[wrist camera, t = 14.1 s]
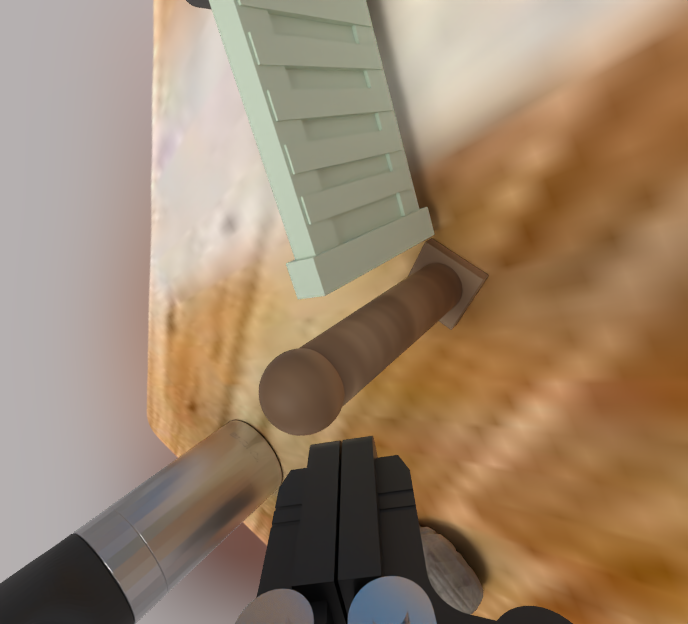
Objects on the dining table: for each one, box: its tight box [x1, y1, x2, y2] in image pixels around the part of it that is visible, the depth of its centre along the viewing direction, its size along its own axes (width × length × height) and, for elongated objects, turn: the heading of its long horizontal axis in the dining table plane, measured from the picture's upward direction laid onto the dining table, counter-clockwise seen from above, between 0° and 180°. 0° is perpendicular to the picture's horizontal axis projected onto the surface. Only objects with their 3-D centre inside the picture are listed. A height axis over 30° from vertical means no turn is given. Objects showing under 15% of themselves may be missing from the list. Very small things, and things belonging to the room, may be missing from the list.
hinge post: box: [259, 238, 488, 435], centre depth 22 cm, size 4×4×15 cm
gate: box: [209, 0, 435, 299], centre depth 20 cm, size 15×2×10 cm, turn 22°
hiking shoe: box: [419, 525, 483, 614], centre depth 39 cm, size 9×21×12 cm, turn 142°
